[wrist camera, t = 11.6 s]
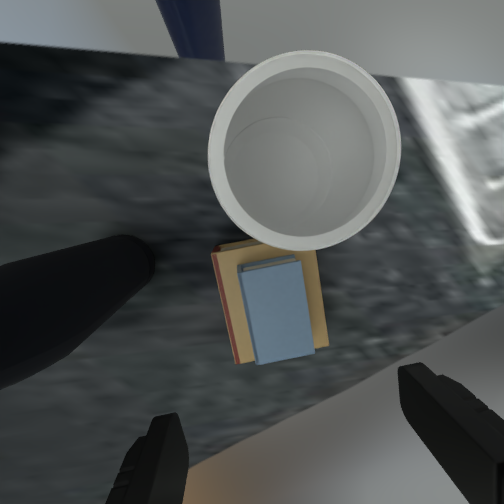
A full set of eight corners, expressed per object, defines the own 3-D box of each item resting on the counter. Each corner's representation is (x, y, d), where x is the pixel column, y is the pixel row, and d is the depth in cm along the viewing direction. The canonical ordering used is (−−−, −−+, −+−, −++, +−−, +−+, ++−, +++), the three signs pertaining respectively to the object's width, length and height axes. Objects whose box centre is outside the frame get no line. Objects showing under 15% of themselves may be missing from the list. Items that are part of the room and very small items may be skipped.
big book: (214, 245, 30) (210, 254, 26) (302, 228, 30) (313, 234, 26) (235, 342, 33) (235, 364, 28) (316, 325, 33) (329, 345, 28)
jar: (303, 117, 28) (381, 20, 14) (327, 212, 30) (418, 220, 15) (206, 146, 28) (177, 82, 13) (236, 241, 30) (240, 276, 15)
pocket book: (236, 264, 26) (236, 273, 23) (293, 253, 26) (300, 260, 23) (254, 348, 28) (256, 365, 25) (307, 337, 28) (315, 353, 25)
